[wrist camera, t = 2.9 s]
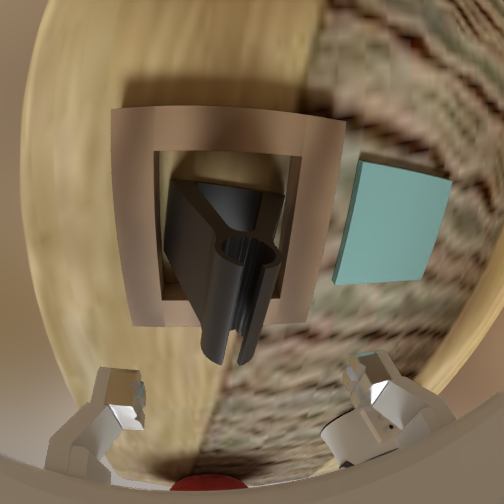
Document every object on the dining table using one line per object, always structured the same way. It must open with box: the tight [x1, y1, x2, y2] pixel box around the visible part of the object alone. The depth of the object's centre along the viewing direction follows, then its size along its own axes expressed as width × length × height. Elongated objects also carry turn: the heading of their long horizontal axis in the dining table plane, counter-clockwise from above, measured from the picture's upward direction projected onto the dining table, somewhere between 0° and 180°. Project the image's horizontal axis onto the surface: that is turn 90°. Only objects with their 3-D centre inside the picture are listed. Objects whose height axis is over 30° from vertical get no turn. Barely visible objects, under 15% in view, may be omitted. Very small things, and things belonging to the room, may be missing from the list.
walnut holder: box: [111, 106, 346, 327], centre depth 22 cm, size 16×18×2 cm
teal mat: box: [332, 160, 452, 285], centre depth 26 cm, size 12×12×1 cm
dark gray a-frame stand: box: [164, 179, 285, 366], centre depth 18 cm, size 9×6×12 cm, turn 78°
